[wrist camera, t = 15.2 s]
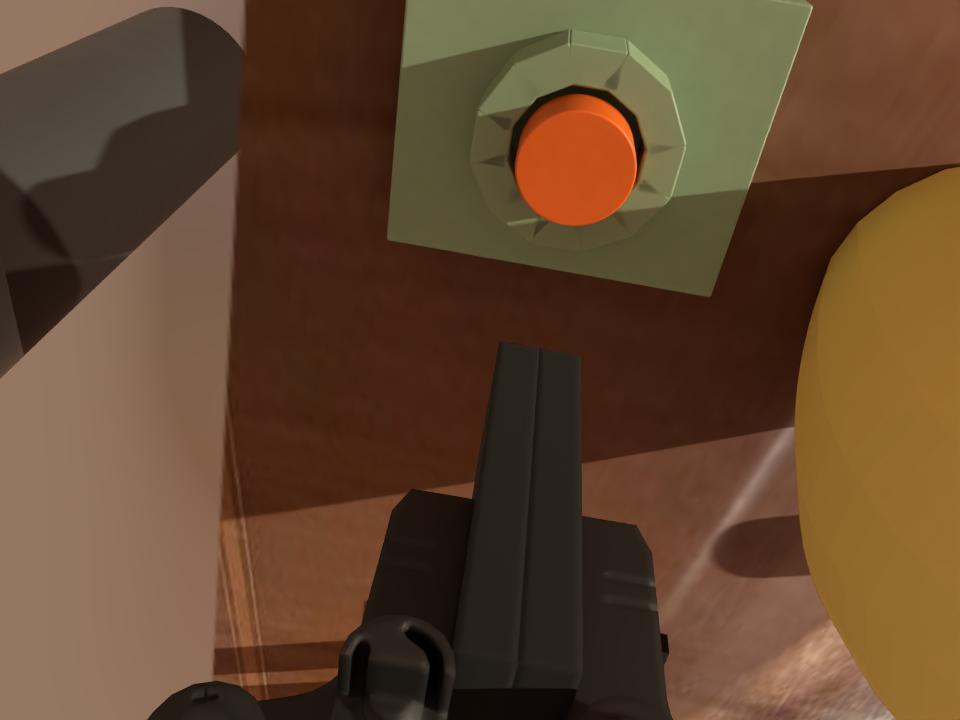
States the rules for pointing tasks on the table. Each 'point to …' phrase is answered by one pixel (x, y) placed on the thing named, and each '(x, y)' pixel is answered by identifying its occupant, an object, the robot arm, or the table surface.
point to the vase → (889, 447)
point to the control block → (610, 76)
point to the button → (576, 160)
